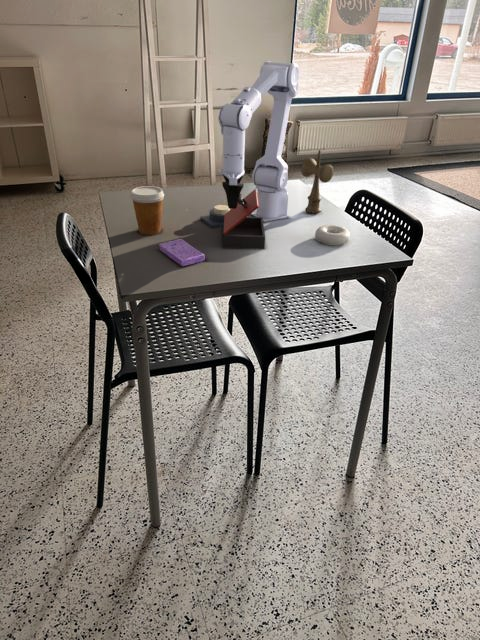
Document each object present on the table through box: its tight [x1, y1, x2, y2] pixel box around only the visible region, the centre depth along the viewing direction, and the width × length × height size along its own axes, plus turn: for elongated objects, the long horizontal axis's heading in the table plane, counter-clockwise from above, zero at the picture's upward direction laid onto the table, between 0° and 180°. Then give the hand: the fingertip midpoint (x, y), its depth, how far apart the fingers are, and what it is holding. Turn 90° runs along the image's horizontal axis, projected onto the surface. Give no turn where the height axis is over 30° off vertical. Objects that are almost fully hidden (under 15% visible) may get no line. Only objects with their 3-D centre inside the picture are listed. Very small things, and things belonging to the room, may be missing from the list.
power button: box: [213, 204, 230, 215], centre depth 153 cm, size 5×5×2 cm
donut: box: [314, 224, 351, 246], centre depth 143 cm, size 10×4×10 cm
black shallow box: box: [223, 216, 266, 250], centre depth 142 cm, size 11×15×4 cm
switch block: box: [200, 208, 231, 228], centre depth 154 cm, size 11×8×3 cm
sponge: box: [158, 238, 206, 267], centre depth 131 cm, size 7×13×2 cm, turn 35°
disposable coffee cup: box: [130, 185, 165, 236], centre depth 143 cm, size 10×10×12 cm
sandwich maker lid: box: [223, 188, 259, 236], centre depth 138 cm, size 12×15×4 cm
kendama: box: [300, 149, 334, 214], centre depth 159 cm, size 6×10×20 cm, turn 35°
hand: (232, 203), depth 138 cm, fingers open, 7 cm apart
